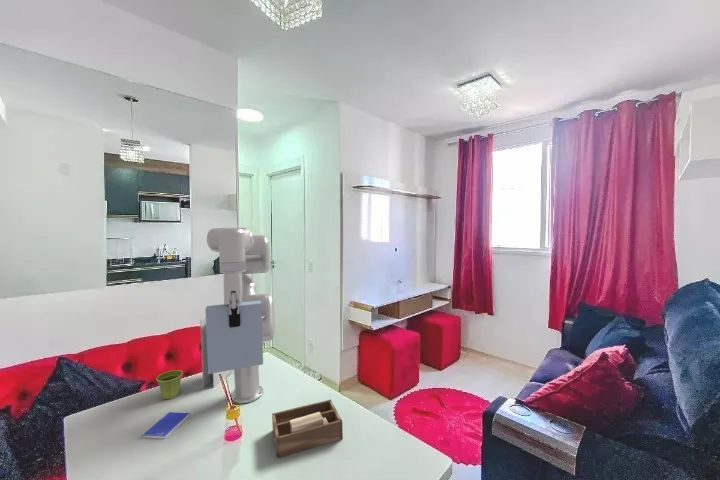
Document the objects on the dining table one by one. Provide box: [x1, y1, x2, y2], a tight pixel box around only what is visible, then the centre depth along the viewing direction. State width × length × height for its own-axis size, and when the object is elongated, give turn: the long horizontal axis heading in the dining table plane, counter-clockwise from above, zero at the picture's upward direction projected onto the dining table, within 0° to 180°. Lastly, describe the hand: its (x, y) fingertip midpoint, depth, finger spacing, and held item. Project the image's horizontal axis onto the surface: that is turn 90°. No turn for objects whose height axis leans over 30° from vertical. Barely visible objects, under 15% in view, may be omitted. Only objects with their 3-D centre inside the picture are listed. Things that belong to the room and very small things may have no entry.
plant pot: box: [155, 369, 184, 400], centre depth 125 cm, size 9×9×9 cm
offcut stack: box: [290, 412, 328, 433], centre depth 97 cm, size 4×14×8 cm, turn 115°
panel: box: [204, 301, 264, 374], centre depth 95 cm, size 4×16×20 cm, turn 112°
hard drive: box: [141, 411, 190, 439], centre depth 106 cm, size 2×8×12 cm
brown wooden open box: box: [271, 399, 344, 459], centre depth 100 cm, size 13×21×6 cm, turn 112°
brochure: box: [199, 317, 234, 388], centre depth 138 cm, size 14×6×30 cm, turn 168°
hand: (235, 323), depth 95 cm, fingers closed on panel, 4 cm apart
